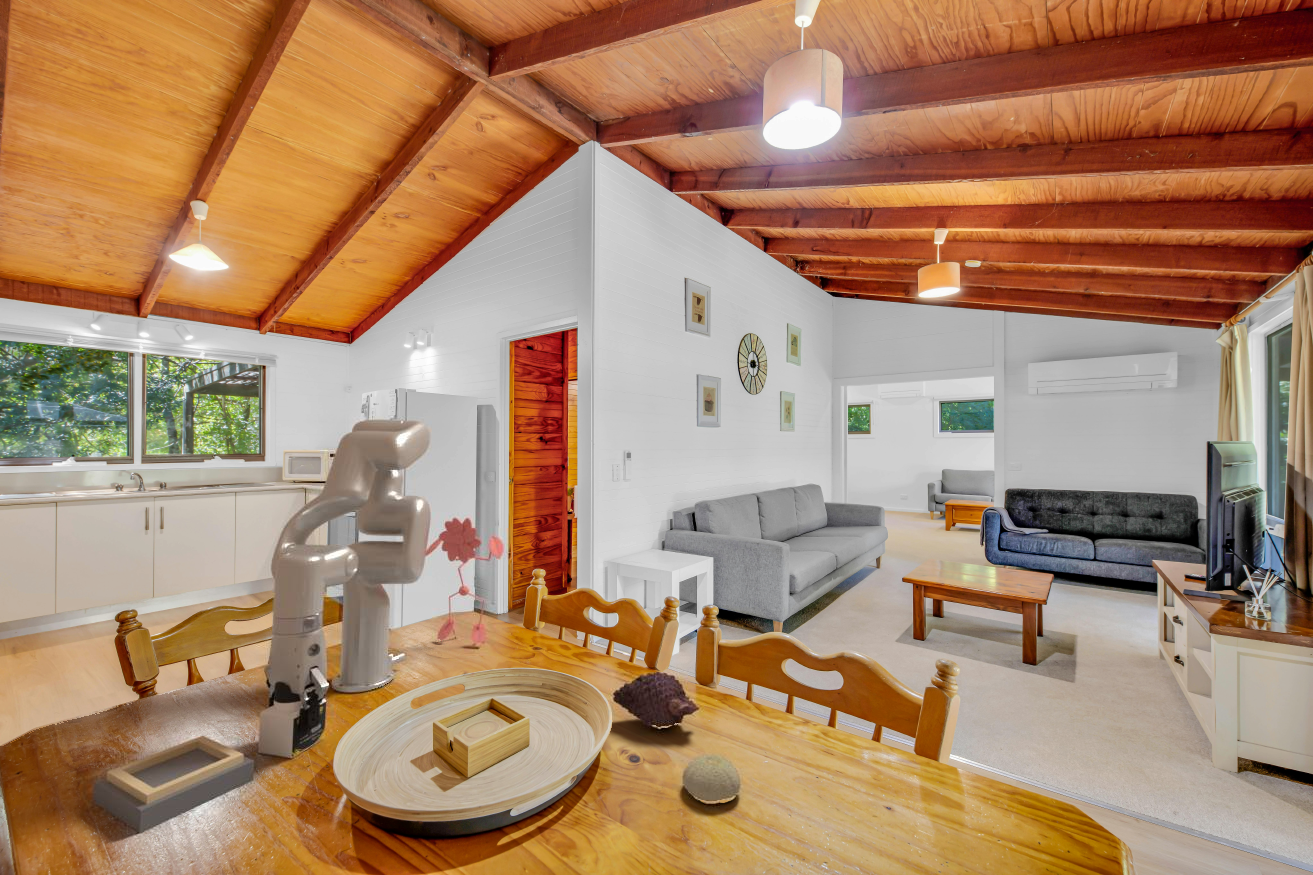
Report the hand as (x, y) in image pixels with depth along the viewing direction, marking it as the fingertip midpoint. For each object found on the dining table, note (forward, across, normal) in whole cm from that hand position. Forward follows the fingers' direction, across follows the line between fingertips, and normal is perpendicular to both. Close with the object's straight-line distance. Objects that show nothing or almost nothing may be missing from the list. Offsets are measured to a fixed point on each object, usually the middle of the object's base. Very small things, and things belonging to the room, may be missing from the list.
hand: (293, 722), depth 98 cm
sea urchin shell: (+4, -70, -23) cm, 74 cm away
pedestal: (+4, +2, +16) cm, 17 cm away
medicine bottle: (+4, 0, 0) cm, 4 cm away
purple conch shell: (+4, -53, -38) cm, 65 cm away
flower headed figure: (+4, +13, -50) cm, 52 cm away
